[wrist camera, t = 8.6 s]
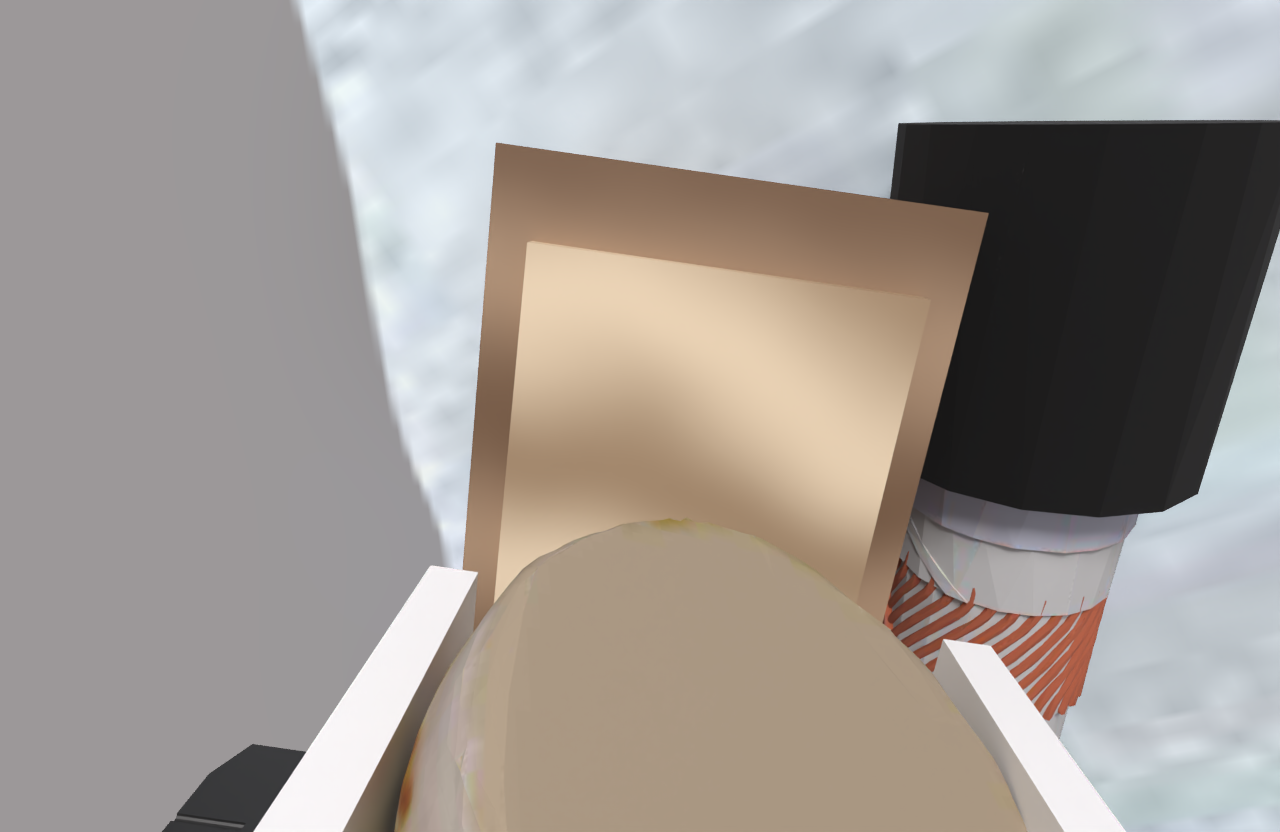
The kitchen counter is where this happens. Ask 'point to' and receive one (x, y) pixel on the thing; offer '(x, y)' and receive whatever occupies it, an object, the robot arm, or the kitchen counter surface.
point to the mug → (692, 704)
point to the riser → (707, 362)
